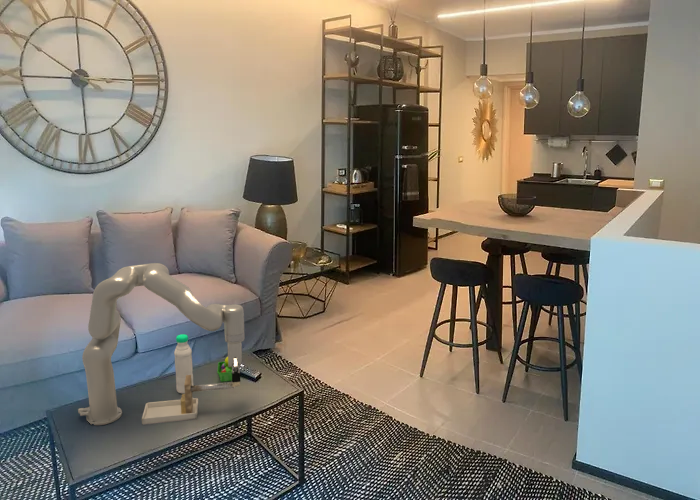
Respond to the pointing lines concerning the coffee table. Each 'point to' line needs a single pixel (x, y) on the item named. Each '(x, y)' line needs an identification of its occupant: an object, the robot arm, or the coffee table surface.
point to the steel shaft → (215, 386)
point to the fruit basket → (224, 371)
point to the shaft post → (188, 394)
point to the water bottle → (182, 362)
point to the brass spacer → (183, 404)
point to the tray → (167, 412)
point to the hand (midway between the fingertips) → (236, 376)
